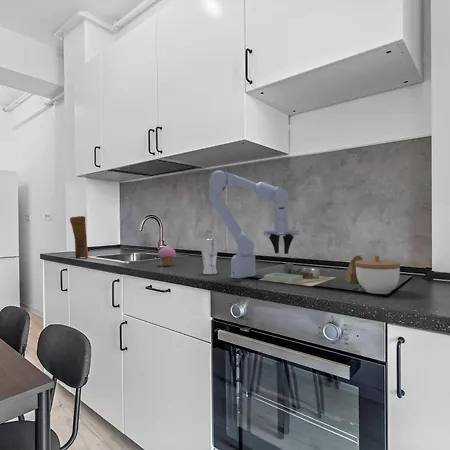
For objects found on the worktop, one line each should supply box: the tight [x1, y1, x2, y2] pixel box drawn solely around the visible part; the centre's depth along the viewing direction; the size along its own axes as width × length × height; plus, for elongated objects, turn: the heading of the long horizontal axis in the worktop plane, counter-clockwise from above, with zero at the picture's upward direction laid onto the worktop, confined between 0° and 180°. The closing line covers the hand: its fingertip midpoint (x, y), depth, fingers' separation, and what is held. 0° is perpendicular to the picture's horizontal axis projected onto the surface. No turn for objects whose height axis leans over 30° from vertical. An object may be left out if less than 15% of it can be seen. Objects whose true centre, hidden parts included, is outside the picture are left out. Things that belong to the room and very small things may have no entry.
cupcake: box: [158, 246, 177, 267], centre depth 175 cm, size 9×9×10 cm
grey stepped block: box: [283, 262, 299, 275], centre depth 130 cm, size 5×4×4 cm
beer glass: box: [200, 238, 218, 275], centre depth 147 cm, size 7×7×15 cm
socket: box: [298, 272, 312, 279], centre depth 126 cm, size 5×7×2 cm
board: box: [258, 272, 337, 287], centre depth 124 cm, size 21×20×1 cm
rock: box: [345, 254, 364, 285], centre depth 117 cm, size 11×9×10 cm
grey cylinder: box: [298, 266, 321, 278], centre depth 126 cm, size 7×4×4 cm, turn 49°
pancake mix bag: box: [69, 215, 89, 258], centre depth 226 cm, size 7×19×28 cm, turn 46°
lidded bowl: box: [355, 255, 401, 295], centre depth 104 cm, size 13×13×11 cm
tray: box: [263, 272, 303, 284], centre depth 122 cm, size 12×8×2 cm, turn 49°
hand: (281, 253), depth 133 cm, fingers open, 3 cm apart
